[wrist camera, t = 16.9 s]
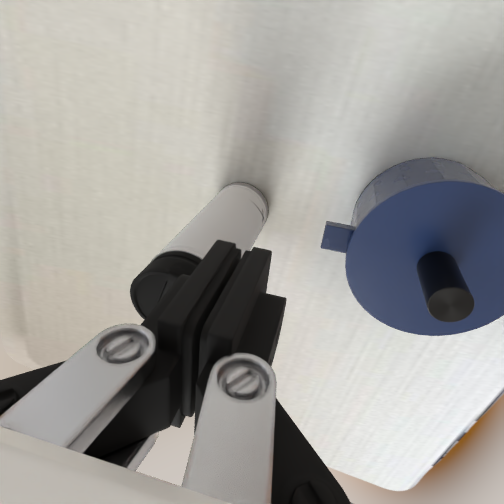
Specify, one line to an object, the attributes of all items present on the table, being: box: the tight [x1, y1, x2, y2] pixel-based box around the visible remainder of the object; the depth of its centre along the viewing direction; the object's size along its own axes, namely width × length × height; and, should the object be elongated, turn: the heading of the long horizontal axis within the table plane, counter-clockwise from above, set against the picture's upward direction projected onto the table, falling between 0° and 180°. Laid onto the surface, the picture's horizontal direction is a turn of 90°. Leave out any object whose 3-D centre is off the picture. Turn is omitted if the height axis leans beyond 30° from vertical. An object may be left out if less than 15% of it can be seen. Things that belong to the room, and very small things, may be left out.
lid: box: [345, 179, 504, 336], centre depth 29 cm, size 15×15×7 cm
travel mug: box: [130, 183, 268, 319], centre depth 34 cm, size 6×7×20 cm
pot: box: [321, 158, 493, 253], centre depth 35 cm, size 14×19×8 cm
